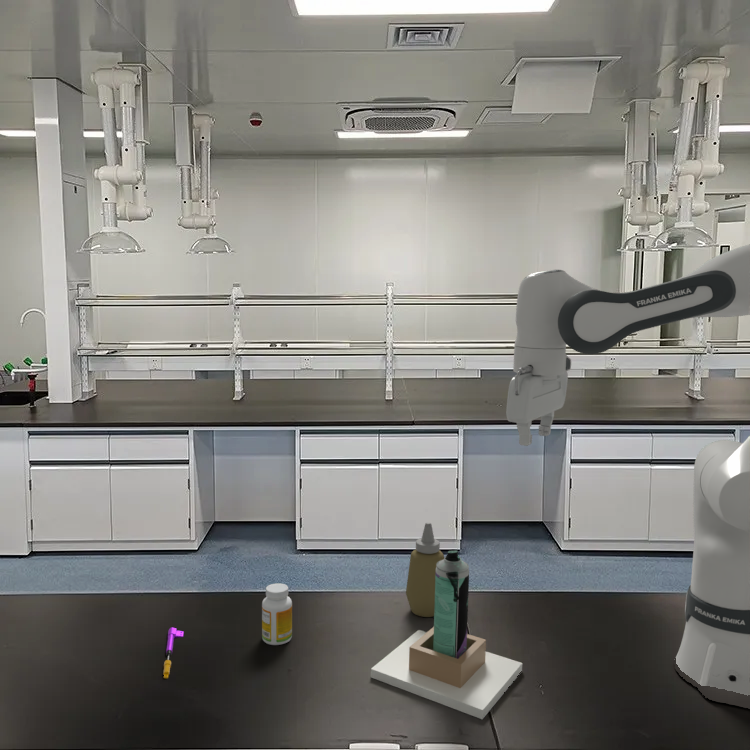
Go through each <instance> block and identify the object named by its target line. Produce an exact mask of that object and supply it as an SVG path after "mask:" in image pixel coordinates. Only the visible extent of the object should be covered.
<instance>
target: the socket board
mask: <svg viewBox="0 0 750 750" xmlns="http://www.w3.org/2000/svg"><path fill="white" fill-rule="evenodd" d="M433 642H434V626H433V627H432V628H430V629H429V630H427V631H424V630H421V629H418V630H417V631H415V632H414V633H413V634H411V635H410V636H409V637H408V638H407V639H406V640H404V641H403V642H402V643H400V645H398V646H397V647H396V648H394V649H393V650H392V651H391V652H389V653H388V654H387V655H386V656H385V657H383V659H381V660H380V661H379V662H377V663H376V664H375V665H374V666H372V667H371V668H370V678H371V679H375V680H377V681H380V682H383V683H384V684H386V685H387V684H388V685H389V686H393V687H394V688H395V687H396V688H398V689H400V690H403V691H406V692H409V693H412V694H414V695H417V696H419V697H422V698H425V699H427V700H430V701H433V702H435V703H438V704H440V705H442V706H446V707H449V708H451V709H454V710H456V711H458V712H461V713H465V714H466V715H469V716H473V717H475V718H477V719H480V720H483V719H484V718H485V717H486V716H487V714H488V713H489V712H490V711H491V710H492V709H493V707H494V706H495V705H496V704H497V702H498V701H499V700H500V699H501V697H502V696H503V695H504V692H505V693H506V691H507V690H508V689H509V688H508V687H509V686H510V687H511V685H513V683H514V682H513V681H516V680H517V678H518V677H519V676H520V674H521V673H522V672H523V663H522V662H520V661H517V660H513V659H511V658H509V657H505V656H501V655H499V654H495V653H493V652H489V651H486V650H487V639H484V638H482V637H478V636H476V635H472V634H468V633H467V649H466V652H464V653H463V654H462V655H461V656H460V657H459V658H458V659H457V658H454V657H451V656H448V655H445V654H442V653H439V652H436V651H433ZM521 671H522V672H521ZM520 672H521V673H520ZM519 673H520V674H519ZM518 675H519V676H518ZM517 676H518V677H517Z"/></svg>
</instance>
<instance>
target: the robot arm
mask: <svg viewBox="0 0 750 750" xmlns="http://www.w3.org/2000/svg"><path fill="white" fill-rule="evenodd" d="M517 291H518V293H517V299H516V308H515V309H516V310H515V324H516V328H517V329H516V331H517V333H516V337H515V341H514V348H513V349H514V350H513V366H512V367H513V369H512V371H513V372H514V373H516V374H515V375H514V376H513V377H512V378H511V379H510V382H509V385H508V390H507V400H506V407H505V408H506V413H505V416H506V419H507V421H508V422H510V423H511V422H512V423H516V428H517V431H518V436H519V437H518V443H519V445H520V446H525V447H528V446H530V445H531V444H532V443H533V434H532V432H531V427H532V421H534V420H535V421H536V420H537V419H540V424H539V426H538V435H539V436H540V437H548V436H549V435H551V433H552V432H551V431H552V424H553V421H554V418H555V412H556V411H558V410H560V409H562V408H563V407H564V405H565V402H566V398H567V397H566V396H567V388H568V381H569V376H568V375H569V374H568V373H569V372H568V371H570V370H571V369H572V359H571V358H570V357H569V356H568V355H567V346H568V347H569V348H570V349H572V350H573V351H576V352H577V353H580V354H584V355H598V354H601V353H604V352H607V351H609V350H611V349H612V348H613V347H615V346H616V345H617V344H619V343H620V342H621V341H622V340H624V339H625V338H627V337H629V336H630V335H633V334H634V333H637V332H640V331H644V330H648V329H652V328H656V327H660V326H663V325H667V324H672V323H675V322H679V321H684V320H688V319H695V318H732V317H733V318H735V317H742V316H745V317H746V316H750V244H745V245H742V246H740V247H736V248H733V249H732V250H731V249H730V250H728V251H726V252H723V253H721V254H719V255H716V256H714V257H712V258H710V259H708V260H707V261H705V262H704V263H702V264H700V266H699V267H698V268H696V269H695V270H693V271H692V272H689V273H687V274H686V275H684V276H681V277H679V278H676V279H673V280H670V281H669V280H668V281H666V282H662V283H658V284H654V285H651V286H647V287H643V288H639V289H636V290H632V291H626V292H610V291H604V290H600V289H597V288H595V287H592V286H589V285H588V284H585V283H583V282H581V281H579V280H578V279H576V278H575V277H573V276H571V275H569V274H568V273H567V272H566V271H565V270H562V269H552V270H551V269H550V270H543V271H538V272H534V273H533V272H532V273H530V274H528V275H526V276H525V277H524V278H523V279H522V280H521V281H520V284H519V287H518V290H517ZM694 461H695V462H694V465H693V503H692V504H693V505H692V507H693V511H692V512H693V514H692V515H693V551H692V552H693V554H692V565H691V577H690V585H689V586H688V589H687V590H686V591H687V592H686V594H685V595H686V596H685V603H684V604H685V606H684V615H685V618H684V619H685V626H684V631H683V635H682V639H681V643H680V645H679V646H680V647H679V649H678V652H677V654H676V655H675V658H676V664H677V665H678V667H679V668H680V670H681V671H682V672H684V673H685V674H686V675H688V676H689V677H690V678H692V679H693V680H695V681H696V682H697V683H698V684H700V685H701V686H710V687H716V688H718V689H725V690H727V691H733V692H736V693H740V694H744V695H747V696H748V695H750V435H749V436H748V437H747V438H746V439H745V440H744V441H743V442H740V441H736V440H731V439H727V440H726V439H723V440H722V439H721V440H715V441H712V442H710V443H707V444H706V445H705V446H703V448H701V450H700V451H699V452H698V454H697V456H696V458H695V460H694Z"/></svg>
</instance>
